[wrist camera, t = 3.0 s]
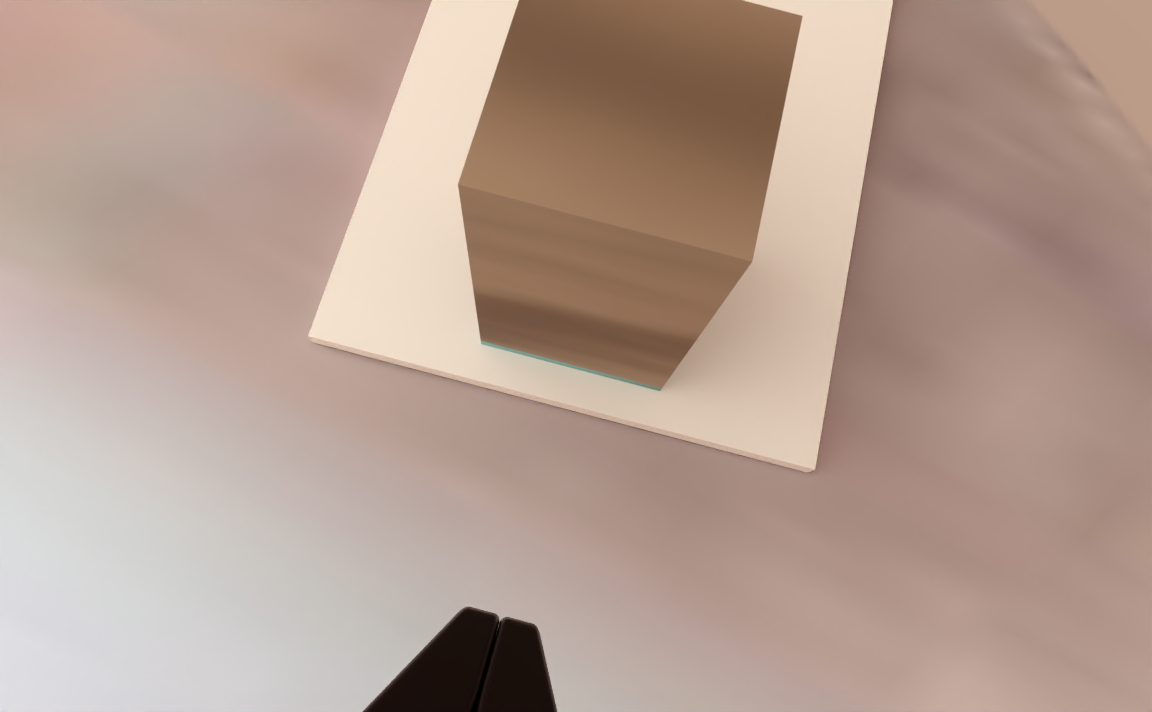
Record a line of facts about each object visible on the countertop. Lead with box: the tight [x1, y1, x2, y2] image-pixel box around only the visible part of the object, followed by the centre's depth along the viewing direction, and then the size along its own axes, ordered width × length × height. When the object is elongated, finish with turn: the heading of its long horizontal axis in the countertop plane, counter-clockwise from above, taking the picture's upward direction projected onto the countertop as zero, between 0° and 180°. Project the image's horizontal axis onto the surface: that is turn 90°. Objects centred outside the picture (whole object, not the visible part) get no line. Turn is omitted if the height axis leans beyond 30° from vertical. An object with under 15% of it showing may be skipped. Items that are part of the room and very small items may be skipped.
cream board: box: [308, 0, 893, 473], centre depth 24 cm, size 17×14×1 cm
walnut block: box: [458, 0, 803, 391], centre depth 18 cm, size 5×5×9 cm
